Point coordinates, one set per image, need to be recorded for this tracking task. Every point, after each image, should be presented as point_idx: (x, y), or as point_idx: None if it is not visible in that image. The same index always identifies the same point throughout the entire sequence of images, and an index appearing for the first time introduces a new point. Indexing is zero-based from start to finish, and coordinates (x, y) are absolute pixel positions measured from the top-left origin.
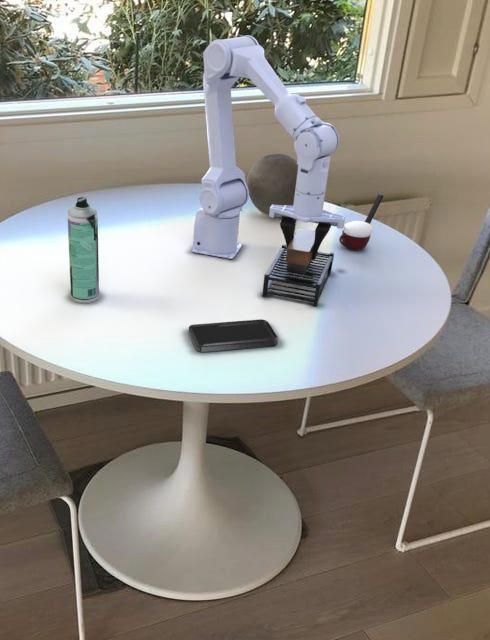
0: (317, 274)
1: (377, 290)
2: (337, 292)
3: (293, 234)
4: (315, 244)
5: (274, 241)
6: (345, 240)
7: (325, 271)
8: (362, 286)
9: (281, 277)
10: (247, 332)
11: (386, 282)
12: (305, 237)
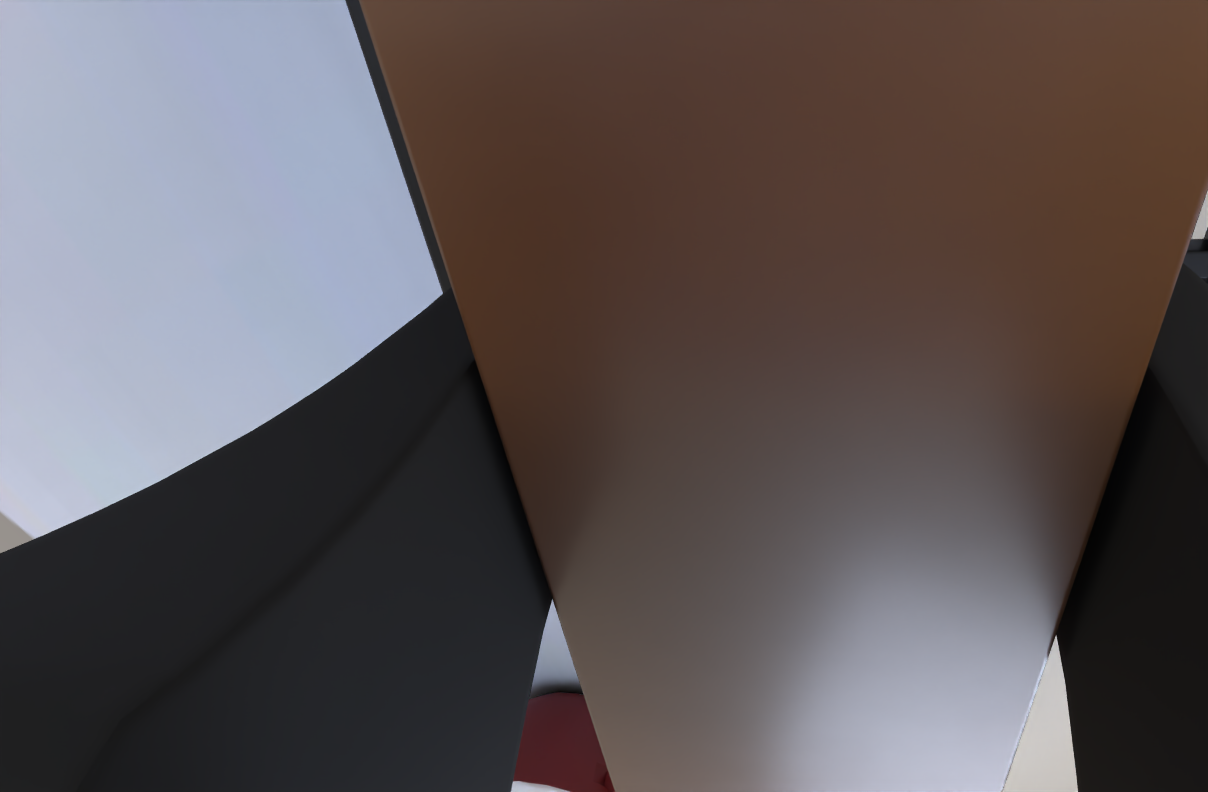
0: None
1: (133, 264)
2: (360, 69)
3: (1085, 665)
4: (425, 387)
5: None
6: None
7: (399, 130)
8: (259, 284)
9: None
10: None
11: (176, 402)
12: (775, 617)
